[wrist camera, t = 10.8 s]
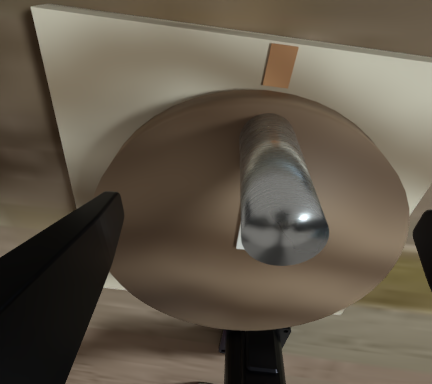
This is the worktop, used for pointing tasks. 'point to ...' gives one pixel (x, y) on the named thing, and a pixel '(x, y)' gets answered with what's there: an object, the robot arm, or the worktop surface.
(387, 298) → the worktop surface
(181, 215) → the walnut dial
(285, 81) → the birch board
